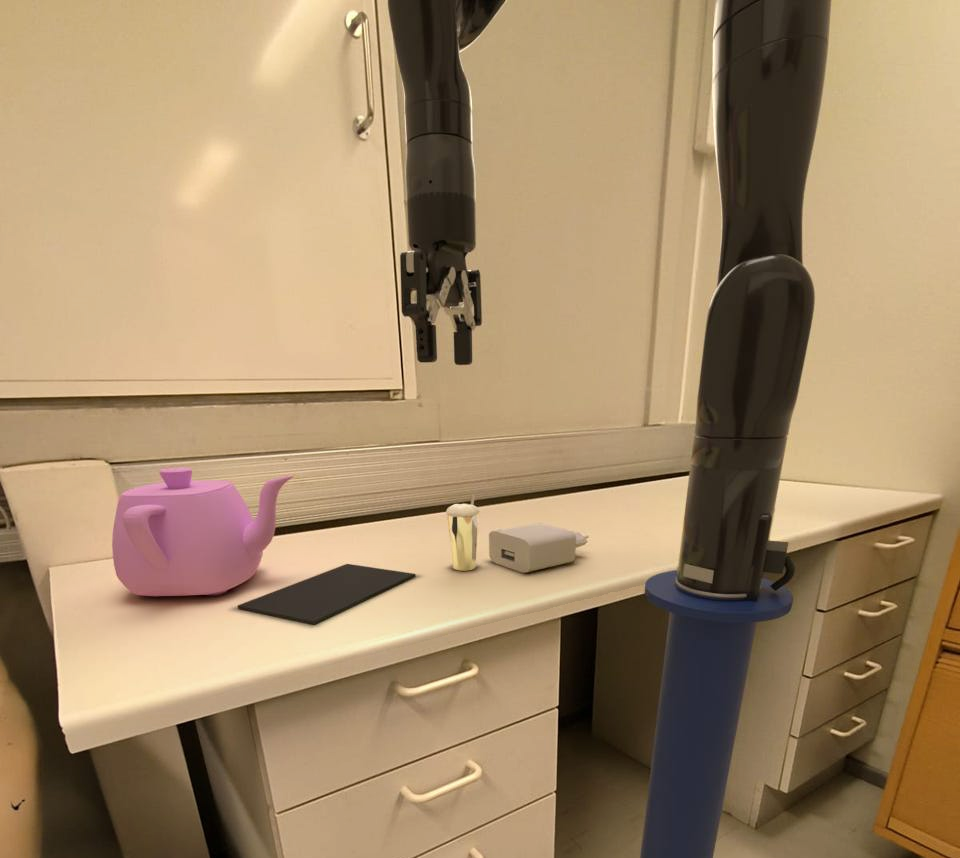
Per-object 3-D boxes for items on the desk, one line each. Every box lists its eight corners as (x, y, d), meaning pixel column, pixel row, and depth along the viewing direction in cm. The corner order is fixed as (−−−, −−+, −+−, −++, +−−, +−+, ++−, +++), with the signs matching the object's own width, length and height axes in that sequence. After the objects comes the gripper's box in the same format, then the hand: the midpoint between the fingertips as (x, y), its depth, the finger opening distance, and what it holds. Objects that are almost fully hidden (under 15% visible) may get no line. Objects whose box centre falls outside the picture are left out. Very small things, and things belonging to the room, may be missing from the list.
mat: (415, 576, 80) (415, 573, 80) (314, 624, 64) (313, 621, 64) (347, 566, 85) (347, 563, 85) (237, 608, 69) (237, 605, 69)
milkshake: (488, 564, 85) (488, 495, 81) (469, 573, 81) (467, 501, 77) (462, 560, 87) (460, 492, 83) (442, 569, 83) (439, 498, 79)
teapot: (81, 618, 67) (40, 484, 61) (168, 567, 86) (143, 461, 80) (280, 614, 67) (259, 480, 61) (322, 564, 87) (309, 458, 81)
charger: (604, 557, 88) (528, 575, 80) (562, 545, 95) (488, 560, 87) (607, 525, 86) (529, 541, 78) (564, 516, 93) (488, 529, 85)
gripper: (436, 173, 56) (443, 360, 62) (500, 210, 68) (500, 364, 74) (373, 186, 59) (385, 362, 66) (444, 218, 71) (449, 366, 77)
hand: (446, 363), depth 70 cm, fingers open, 8 cm apart
